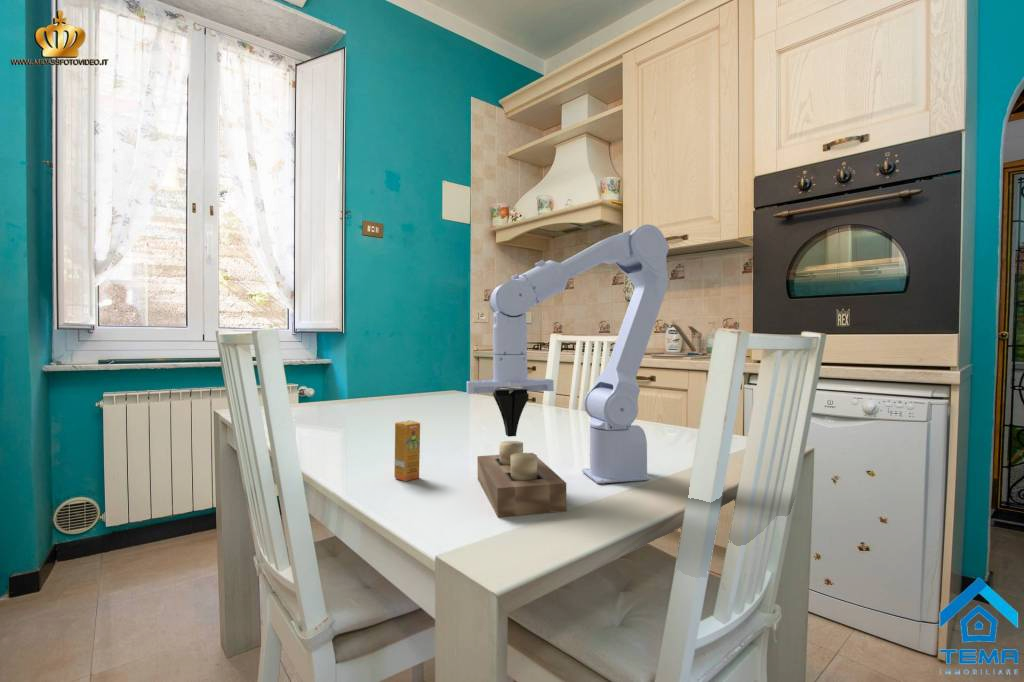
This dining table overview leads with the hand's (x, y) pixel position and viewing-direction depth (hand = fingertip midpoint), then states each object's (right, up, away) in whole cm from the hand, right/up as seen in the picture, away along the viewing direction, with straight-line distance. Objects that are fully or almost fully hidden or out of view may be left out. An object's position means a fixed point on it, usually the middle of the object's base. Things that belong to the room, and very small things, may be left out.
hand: (510, 435), depth 84 cm
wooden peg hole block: (+1, -8, -4) cm, 10 cm away
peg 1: (0, -5, 0) cm, 5 cm away
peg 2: (+2, -5, -9) cm, 10 cm away
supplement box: (-18, -9, +5) cm, 21 cm away
